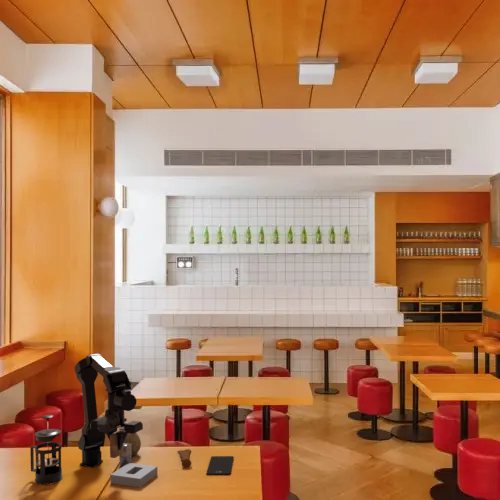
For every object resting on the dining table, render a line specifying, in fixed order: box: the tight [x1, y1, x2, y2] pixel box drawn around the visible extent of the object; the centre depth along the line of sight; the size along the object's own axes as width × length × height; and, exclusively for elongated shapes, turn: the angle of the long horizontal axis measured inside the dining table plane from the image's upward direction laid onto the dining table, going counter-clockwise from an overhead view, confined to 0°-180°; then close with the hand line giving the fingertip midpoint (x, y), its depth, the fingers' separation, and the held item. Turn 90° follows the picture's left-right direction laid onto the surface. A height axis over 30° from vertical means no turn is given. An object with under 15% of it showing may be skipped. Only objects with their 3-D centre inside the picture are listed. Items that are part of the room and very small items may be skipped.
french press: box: [29, 414, 63, 485], centre depth 209 cm, size 12×9×23 cm
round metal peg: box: [118, 443, 133, 469], centre depth 221 cm, size 4×4×8 cm
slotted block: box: [110, 463, 158, 488], centre depth 208 cm, size 12×12×3 cm
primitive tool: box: [176, 448, 192, 469], centre depth 228 cm, size 19×6×4 cm, turn 12°
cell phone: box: [206, 455, 235, 476], centre depth 219 cm, size 9×18×1 cm, turn 178°
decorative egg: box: [124, 432, 142, 456], centre depth 233 cm, size 7×7×10 cm
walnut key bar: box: [109, 430, 123, 459], centre depth 206 cm, size 2×5×8 cm, turn 158°
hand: (116, 449), depth 206 cm, fingers closed on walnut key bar, 2 cm apart
